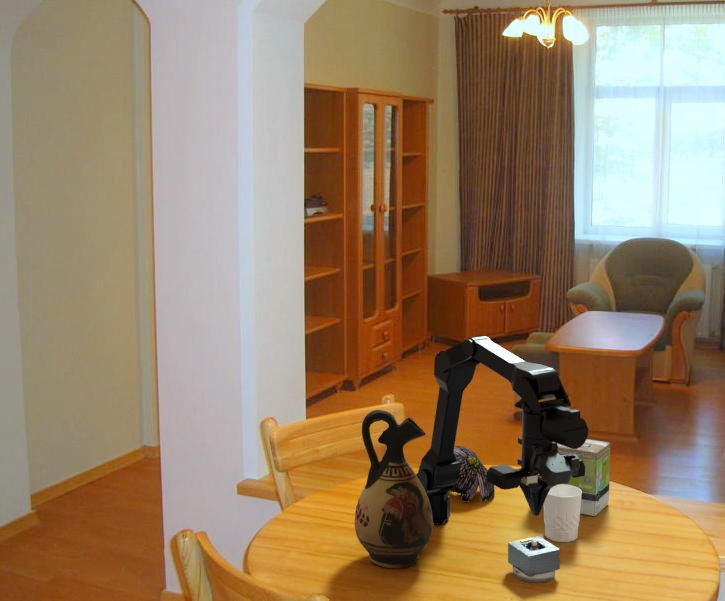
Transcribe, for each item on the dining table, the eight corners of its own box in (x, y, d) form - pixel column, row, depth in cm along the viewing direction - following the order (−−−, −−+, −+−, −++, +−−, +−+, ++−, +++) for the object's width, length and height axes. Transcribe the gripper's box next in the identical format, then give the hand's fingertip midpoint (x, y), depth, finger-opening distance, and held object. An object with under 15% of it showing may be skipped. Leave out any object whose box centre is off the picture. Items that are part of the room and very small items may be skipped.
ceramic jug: (430, 543, 201) (432, 401, 196) (434, 576, 185) (436, 423, 181) (348, 542, 201) (347, 401, 196) (344, 575, 186) (344, 422, 181)
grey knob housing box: (528, 576, 182) (528, 555, 181) (508, 562, 188) (508, 541, 187) (559, 569, 184) (560, 548, 184) (538, 555, 191) (538, 534, 190)
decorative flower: (460, 469, 217) (435, 432, 229) (440, 512, 220) (416, 473, 233) (514, 478, 223) (486, 441, 235) (493, 519, 226) (467, 481, 239)
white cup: (580, 545, 200) (582, 498, 198) (541, 542, 201) (542, 495, 200) (580, 530, 207) (581, 485, 206) (542, 527, 209) (543, 482, 207)
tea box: (609, 504, 222) (612, 441, 220) (594, 518, 214) (597, 453, 212) (547, 491, 230) (549, 431, 228) (530, 505, 222) (532, 442, 220)
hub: (508, 579, 184) (509, 546, 183) (517, 562, 191) (517, 530, 190) (551, 585, 181) (552, 552, 180) (558, 568, 189) (559, 536, 188)
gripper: (519, 453, 171) (517, 538, 173) (605, 440, 179) (602, 521, 181) (485, 437, 181) (484, 517, 183) (568, 424, 189) (566, 502, 191)
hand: (535, 515), depth 184 cm, fingers closed
